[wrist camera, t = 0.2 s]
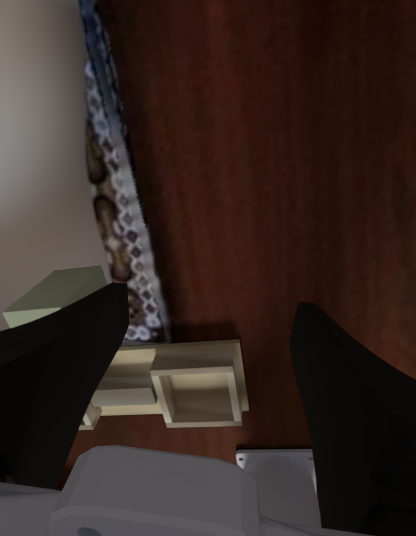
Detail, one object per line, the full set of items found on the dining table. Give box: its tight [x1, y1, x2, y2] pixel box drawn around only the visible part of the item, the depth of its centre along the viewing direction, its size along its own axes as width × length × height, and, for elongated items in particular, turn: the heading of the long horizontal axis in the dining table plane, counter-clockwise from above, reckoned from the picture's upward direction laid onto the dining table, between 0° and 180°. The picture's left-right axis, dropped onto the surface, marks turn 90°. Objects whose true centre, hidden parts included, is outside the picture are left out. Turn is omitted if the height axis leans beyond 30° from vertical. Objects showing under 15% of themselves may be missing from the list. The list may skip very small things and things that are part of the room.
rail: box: [79, 339, 249, 430], centre depth 26 cm, size 8×22×6 cm, turn 99°
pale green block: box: [2, 266, 107, 328], centre depth 22 cm, size 4×4×6 cm
